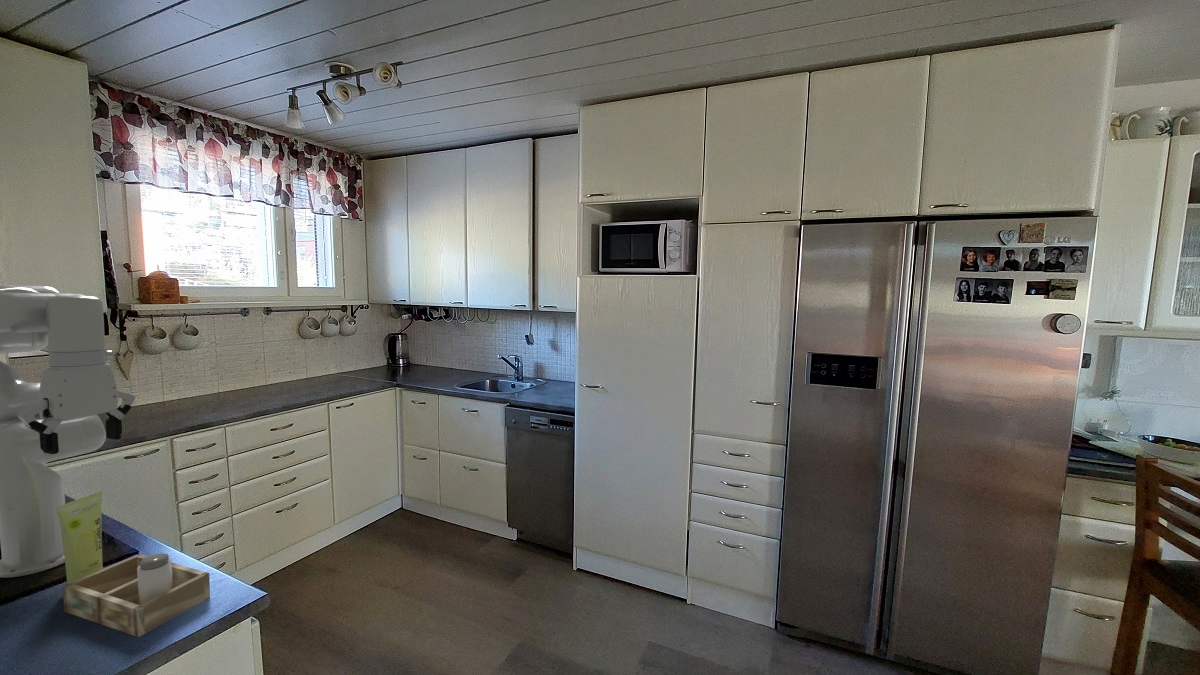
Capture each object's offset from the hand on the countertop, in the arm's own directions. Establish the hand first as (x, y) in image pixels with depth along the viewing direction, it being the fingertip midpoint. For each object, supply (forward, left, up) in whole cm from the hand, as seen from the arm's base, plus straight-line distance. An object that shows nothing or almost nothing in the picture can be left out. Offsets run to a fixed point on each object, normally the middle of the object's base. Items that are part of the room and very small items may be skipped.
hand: (83, 445), depth 97 cm
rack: (+15, -1, -30) cm, 34 cm away
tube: (-1, -1, -30) cm, 30 cm away
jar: (+20, -1, -29) cm, 35 cm away
